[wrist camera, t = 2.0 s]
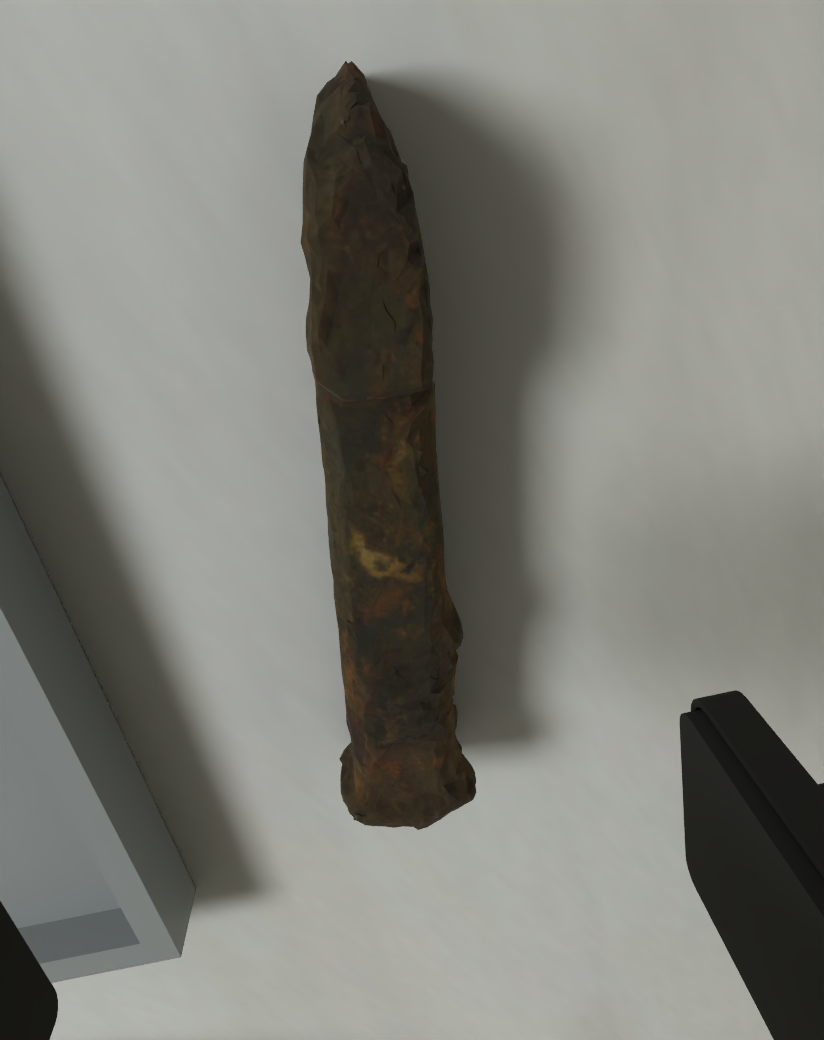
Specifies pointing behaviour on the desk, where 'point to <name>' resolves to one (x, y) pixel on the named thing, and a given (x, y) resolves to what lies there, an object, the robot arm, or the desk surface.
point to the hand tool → (380, 466)
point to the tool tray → (73, 795)
